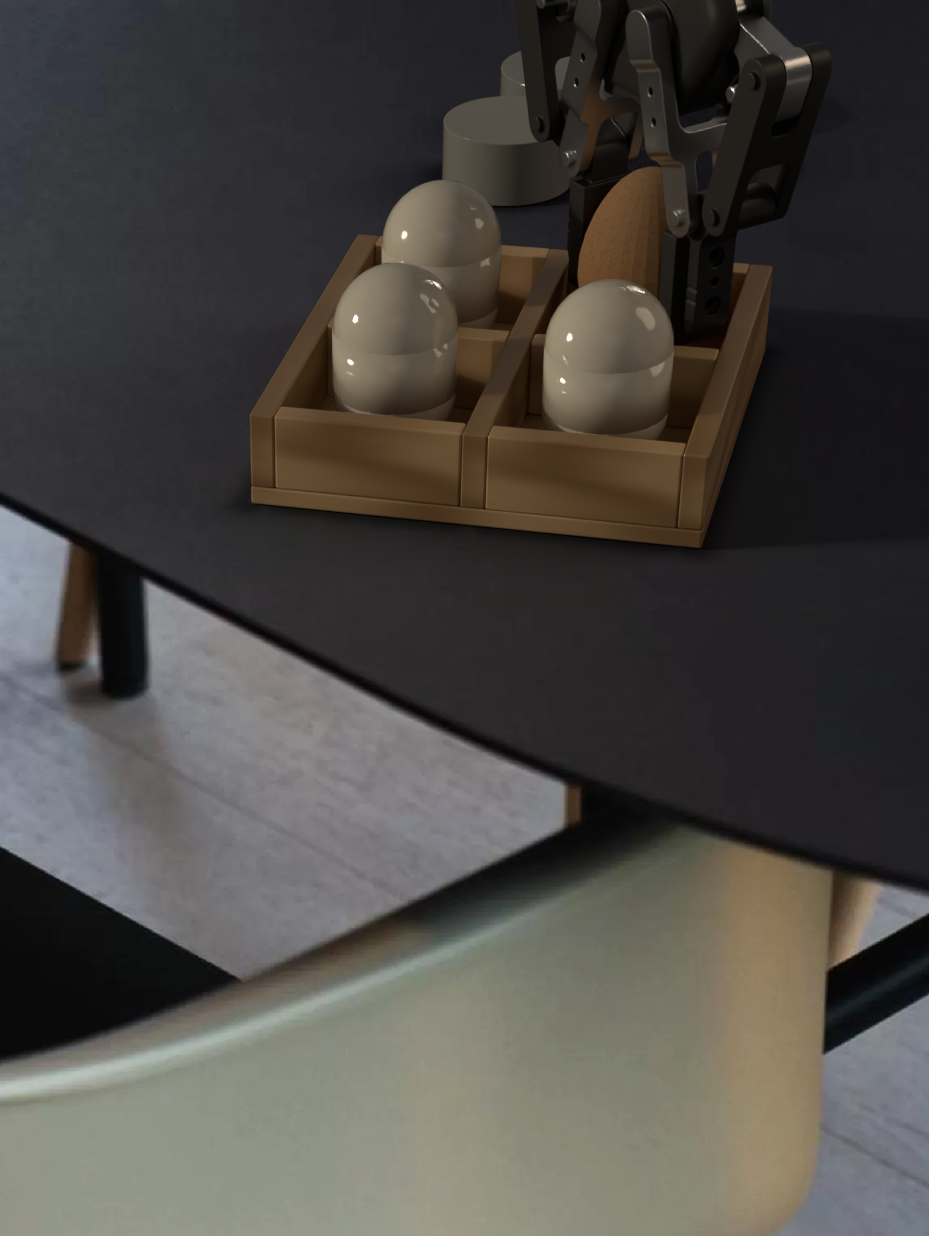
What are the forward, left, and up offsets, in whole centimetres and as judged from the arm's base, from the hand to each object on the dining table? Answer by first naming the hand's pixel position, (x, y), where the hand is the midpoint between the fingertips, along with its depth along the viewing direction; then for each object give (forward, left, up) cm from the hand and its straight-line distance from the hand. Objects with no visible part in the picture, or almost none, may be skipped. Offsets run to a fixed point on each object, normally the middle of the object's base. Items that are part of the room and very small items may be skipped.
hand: (643, 307), depth 97 cm
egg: (0, 0, -1) cm, 1 cm away
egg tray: (+4, +3, -3) cm, 6 cm away
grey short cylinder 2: (+8, -17, -3) cm, 19 cm away
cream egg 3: (0, +7, -2) cm, 7 cm away
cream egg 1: (+7, 0, -2) cm, 7 cm away
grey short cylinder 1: (+7, -23, -3) cm, 24 cm away
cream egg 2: (+7, +7, -2) cm, 10 cm away
